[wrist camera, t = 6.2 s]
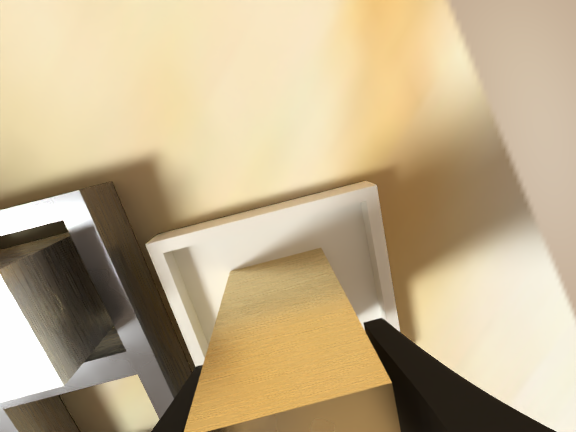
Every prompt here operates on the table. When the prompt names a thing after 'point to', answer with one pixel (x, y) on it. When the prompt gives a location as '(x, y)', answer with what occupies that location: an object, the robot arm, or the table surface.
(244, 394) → the wooden block
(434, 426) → the robot arm
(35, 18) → the table surface
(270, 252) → the parts tray
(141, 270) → the rail
